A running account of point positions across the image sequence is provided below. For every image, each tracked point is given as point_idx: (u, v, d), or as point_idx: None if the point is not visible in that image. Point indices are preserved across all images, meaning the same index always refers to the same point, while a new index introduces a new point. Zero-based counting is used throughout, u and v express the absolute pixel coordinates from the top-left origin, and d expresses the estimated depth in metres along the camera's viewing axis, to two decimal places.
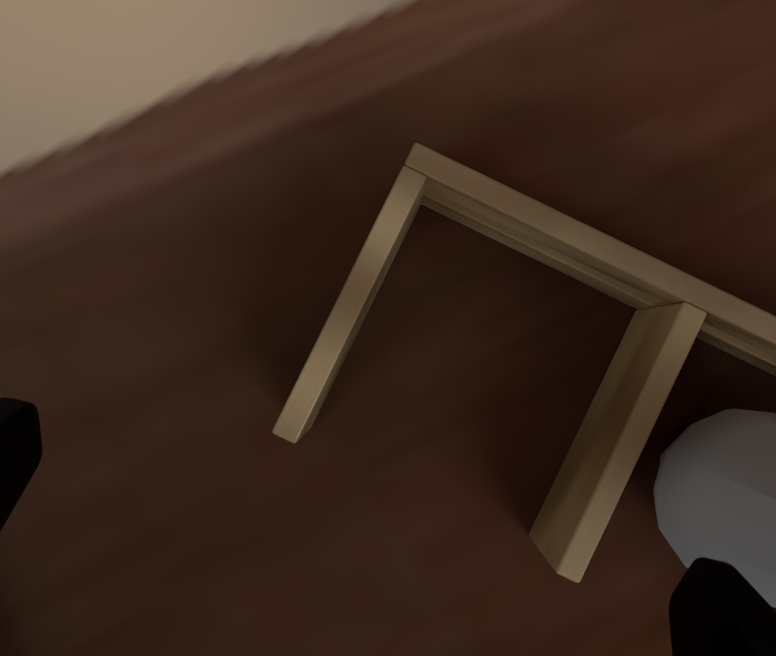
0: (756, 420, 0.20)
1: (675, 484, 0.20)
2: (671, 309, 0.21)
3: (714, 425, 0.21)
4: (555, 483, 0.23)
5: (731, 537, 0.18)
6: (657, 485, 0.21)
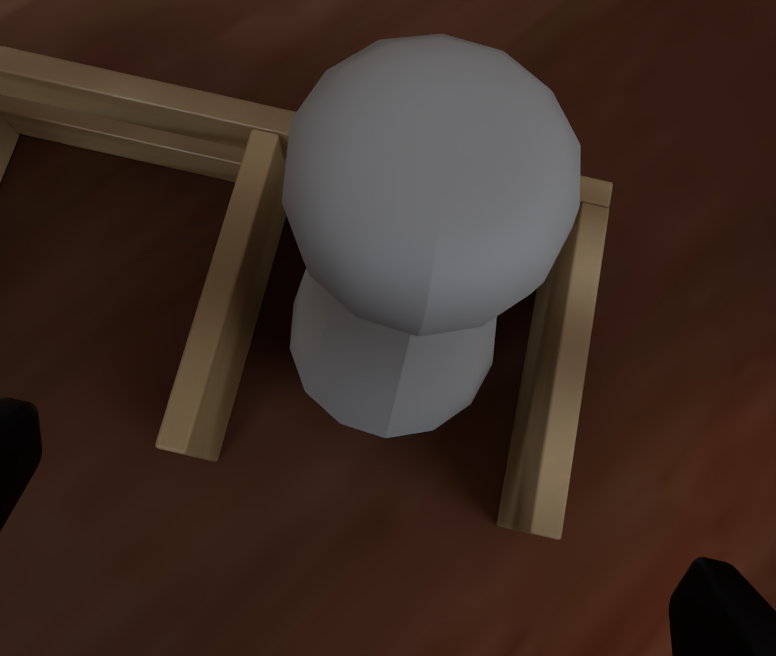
0: None
1: (293, 325, 0.18)
2: None
3: None
4: None
5: (310, 332, 0.15)
6: (291, 342, 0.19)
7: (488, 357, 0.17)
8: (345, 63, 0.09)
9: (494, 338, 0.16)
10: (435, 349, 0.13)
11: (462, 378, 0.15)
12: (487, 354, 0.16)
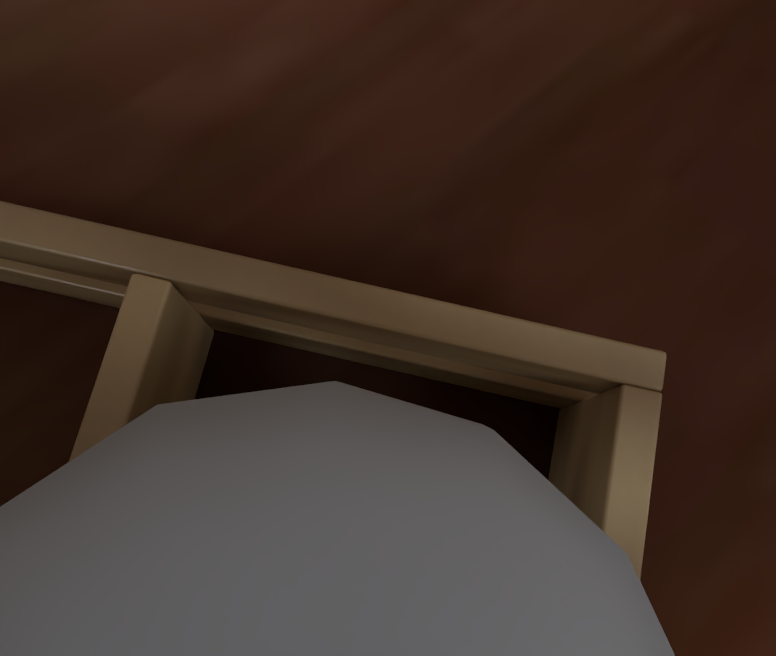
0: None
1: None
2: None
3: None
4: None
5: None
6: None
7: None
8: (38, 507, 0.03)
9: None
10: None
11: None
12: None
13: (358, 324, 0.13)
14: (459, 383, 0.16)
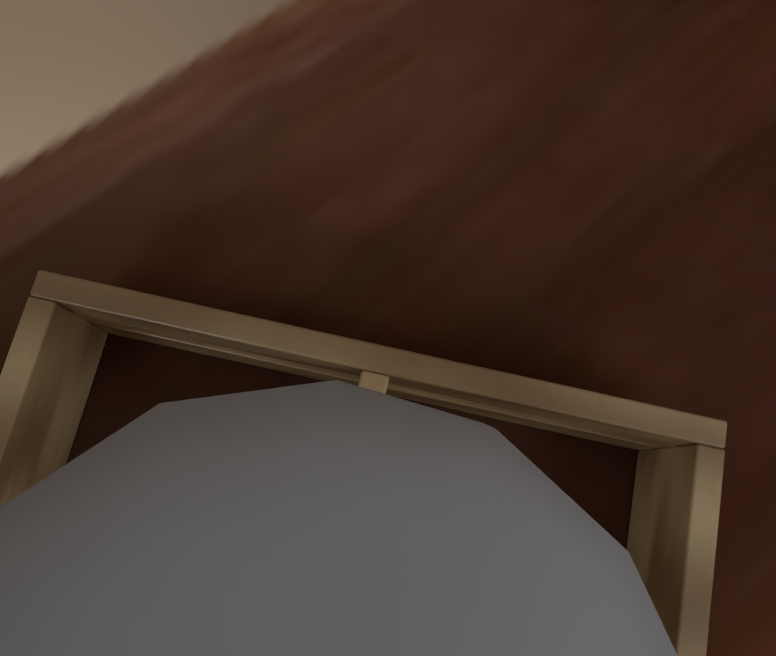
0: None
1: None
2: None
3: None
4: None
5: None
6: None
7: None
8: (41, 505, 0.03)
9: None
10: None
11: None
12: None
13: (516, 404, 0.18)
14: (566, 433, 0.22)
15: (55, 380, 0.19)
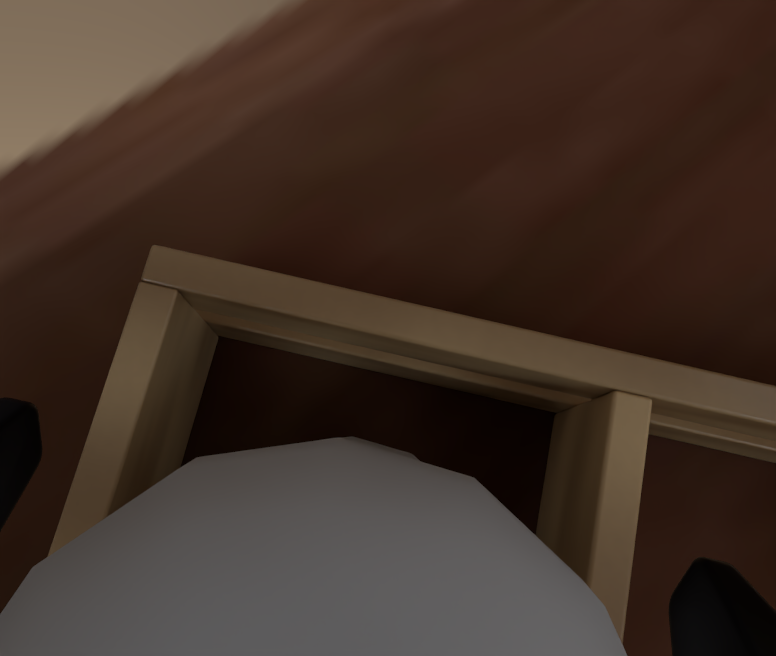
0: None
1: None
2: (599, 406, 0.13)
3: None
4: None
5: None
6: None
7: None
8: (71, 568, 0.04)
9: None
10: None
11: None
12: None
13: None
14: None
15: (168, 400, 0.14)
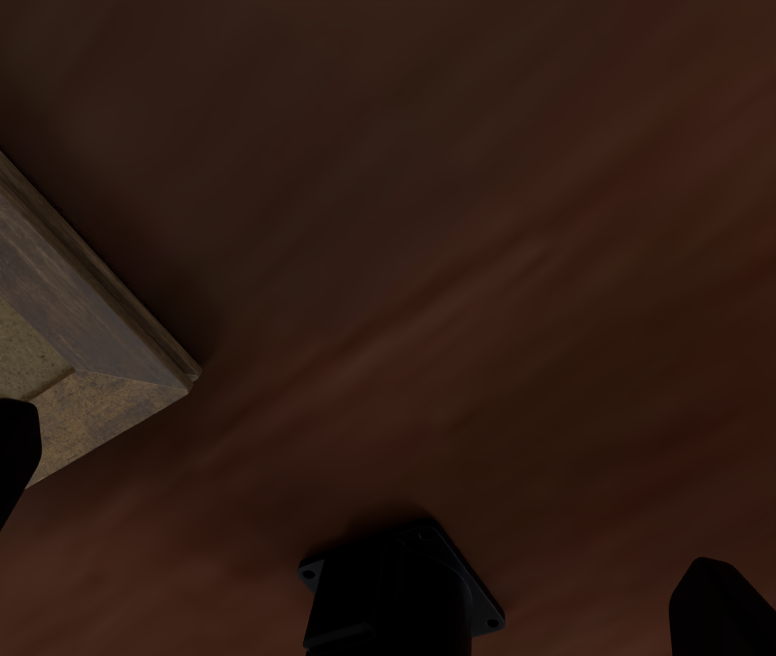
0: None
1: None
2: None
3: None
4: None
5: None
6: None
7: None
8: None
9: None
10: None
11: None
12: None
13: None
14: None
15: None
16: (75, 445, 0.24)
